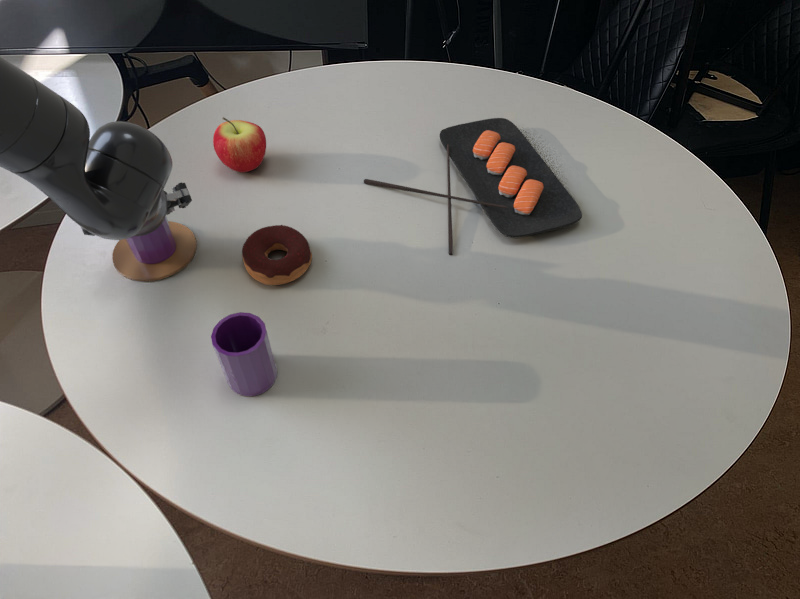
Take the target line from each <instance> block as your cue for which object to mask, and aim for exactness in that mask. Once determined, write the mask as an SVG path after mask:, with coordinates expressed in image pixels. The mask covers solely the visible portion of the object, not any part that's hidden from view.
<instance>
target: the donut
mask: <svg viewBox="0 0 800 599" xmlns="http://www.w3.org/2000/svg"><path fill="white" fill-rule="evenodd" d="M277 250H279V251H283V252H286V255H285V256H284V257H281V258H279V259H274V258H269V254H270V253H271V252H273V251H277ZM241 257H242V261H243V265H244V267H245V269H246V270H245V271H247V273H248V275H250V276H251V277H252V278H253V279H254V280H255V281H256V282H259V283H261V284H263V285H266V286H279V285H284V284H288V283H291V282H293V281H295V280H297V279H299V278H300V277H301V276H303V275H304V274H305V273H306V271H307V270H308V269H309V267H310V265H311V263H312V260H313V254H312V251H311V247H310V243H309V242H308V239H307V238H306V237H305V235H303V233H301V232H300V231H299V230H297V229H295V228H293V227H291V226H288V225H283V224H281V225H279V224H278V225H277V224H275V225H269V226H268V225H267V226H264V227H261V228H258V229H257V230H255V231H254V232H252V233H251V234H249V235H248V236H247V238H246V239H245V241H244V243H243V246H242V249H241Z"/></svg>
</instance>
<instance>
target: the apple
mask: <svg viewBox="0 0 800 599" xmlns="http://www.w3.org/2000/svg"><path fill="white" fill-rule="evenodd" d="M222 120H224V122H222V123H220V124H219V125H218V126H217V127H216V129H215V131H214V133H213V136H212V137H213V138H212V143H213V144H212V145H213V149H214V152H215V154H216V155H217V158H218V160H220V162H221V163H222V164H224V165H225V167H227V168H228V169H230V170H232V171H234V172H236V173H237V172H238V173H247V172H251V171H253V170H255V169H257V168H258V167H259V166H260V165H261V164H262V162H263V160H264V158H265V155H266V152H267V138H266V134H265V132H264V130H263V128H262V127H261V126H259V125H258V124H256V123H254V122H250V121H247V120H242V119H232V120H228V118H226V117H224V116H222Z"/></svg>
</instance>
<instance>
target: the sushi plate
mask: <svg viewBox="0 0 800 599" xmlns="http://www.w3.org/2000/svg"><path fill="white" fill-rule="evenodd" d="M439 140H440V142H441V144H442V146H443V148H444V149H445V151H446V159H447V162H446V163H447V165H446V166H447V168H446V169H447V194H443V193H439V192H433V191H430V190H429V191H428V190H424V189H420V188H419V189H418V188H414V187H411V186H410V187H409V186H405V185H400V184H394V183H389V182H385V181H379V180H374V179H369V178H364V179H363V184H366V185H370V186H377V187H382V188H386V189H387V188H388V189H392V190H398V191H405V192H412V193H416V194H422V195H429V196H434V197H440V198H446V199H447V224H448V226H447V227H448V228H447V230H448V231H447V232H448V233H447V234H448V235H447V236H448V255H449V256H453V254H454V244H453V242H454V241H453V218H452V215H453V214H452V200H457V201H461V202H466V203H473V204H479V205H480V206H481V207H482V210H483V211H484V212H485V214H486V216H487V217H488V218H489V220H490V222H491V223H492V224H493V226H494V227H495V228H496V230H497V231H498V232H499V233H500V234H502V235H503V236H505V237H508V238H525V237H529V236H534V235H538V234H542V233H547V232H550V231H555V230H558V229H562V228H565V227H568V226H572V225H574V224H576V223H578V222H579V221H580V220H581V219H582V218H583V216H582V215H583V213H582V210H581V207H580V206H579V204H578V203H577V201H576V200H575V199H574V197H573V196H572V194H571V193H570V192H569V191H568V189H567V188H566V187H565V186H564V184H563V183H562V181H561V180H560V179H559V178H558V177H557V176H556V174H555V173H554V172H553V170H552V169H551V168H550V166H548V164H547V163H546V162H545V160H544V159H543V158H542V157H541V155H540V154H539V153H538V151H537V150H536V149H535V147H533V145H532V144H531V142H530V141H529V140H528V139H527V137H526V136H525V135H524V134H523V132H522V131H521V130H520V128H518V127H517V126H516V124H515V123H514V122H512V121H511V120H510V119H508V118H504V117H493V118H486V119H480V120H476V121H469V122H465V123H460V124H456V125H452V126H448V127H446V128H443V129H442V130H441V131H440V132H439ZM450 159H451V160H450ZM450 161H452V162H453V164H454V166H455V167H456V169H457V170H458V171H459V173H460V175H461V176H462V178H463V179H464V181H465V183H466V184H467V186H468V187H469V188H470V191H471V192H472V194H473V195H474V196H475V198H476V199H475V200H474V199H470V198H464V197H460V196H453V195H452V192H451V169H450V168H451V165H450V164H451V163H450Z"/></svg>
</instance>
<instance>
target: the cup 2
mask: <svg viewBox="0 0 800 599" xmlns="http://www.w3.org/2000/svg"><path fill="white" fill-rule="evenodd" d="M210 339H211V345H212V348H213V349H214V352H215V355H216V358H217V360H218V363H219V365H220V368H221V370H222V373H223V375H224V378H225V380H226V383H227V384H228V386H229V388H230V390H232V391H233V392H234V393H235V394H237V395H240V396H242V397H256V396H260V395H262V394H263V393H265V392H267V391H269V390H270V388H271V387H272V386H273V385H274V384H275V383H276V380H277V377H278V368H277V365H276V364H277V363H276V360H275V357H274V352H273V348H272V345H271V341H270V338H269V334H268V330H267V326H266V323H265V322H264V320H263V319H261V317H260V316H258V315H256V314H253V313H252V312H245V311H244V312H243V311H240V312H235V313H231V314H228V315H227V316H225V317H223V318H221V319H220V320H219V321H218V322H217V323H216V324H215V325H214V327H213V329H212V331H211V335H210Z"/></svg>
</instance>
